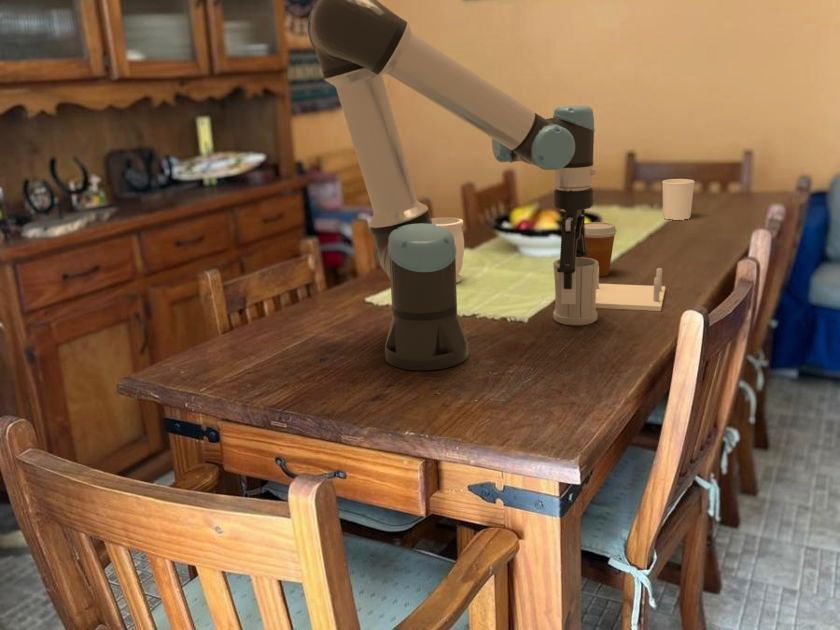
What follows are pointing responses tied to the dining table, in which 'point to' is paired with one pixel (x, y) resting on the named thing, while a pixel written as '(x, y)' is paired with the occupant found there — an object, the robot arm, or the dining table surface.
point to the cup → (578, 294)
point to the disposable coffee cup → (600, 244)
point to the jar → (456, 230)
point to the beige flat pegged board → (631, 295)
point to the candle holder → (677, 198)
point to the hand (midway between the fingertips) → (573, 295)
